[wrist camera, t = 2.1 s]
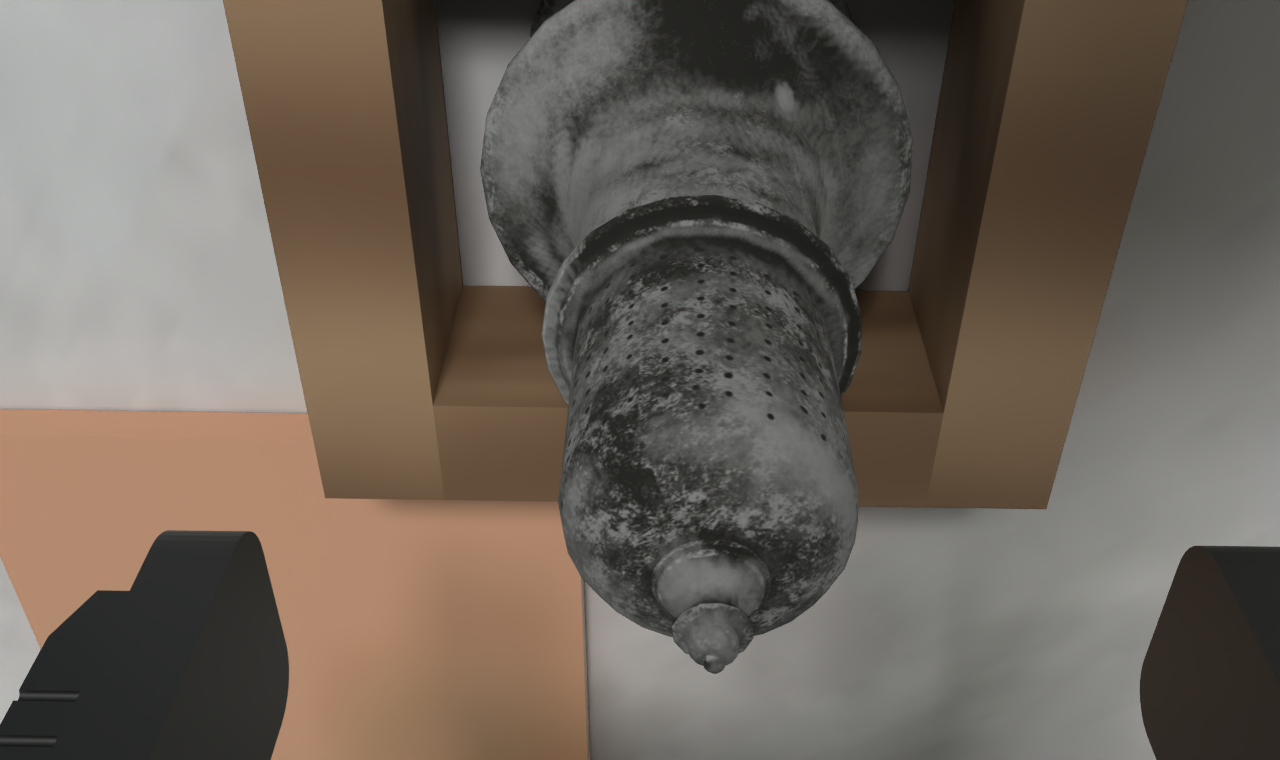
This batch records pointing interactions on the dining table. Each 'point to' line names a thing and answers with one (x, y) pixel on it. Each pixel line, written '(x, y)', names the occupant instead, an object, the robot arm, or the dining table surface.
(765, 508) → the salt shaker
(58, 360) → the dining table surface
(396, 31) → the walnut socket block
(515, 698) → the terracotta tile
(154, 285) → the dining table surface
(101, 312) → the dining table surface
